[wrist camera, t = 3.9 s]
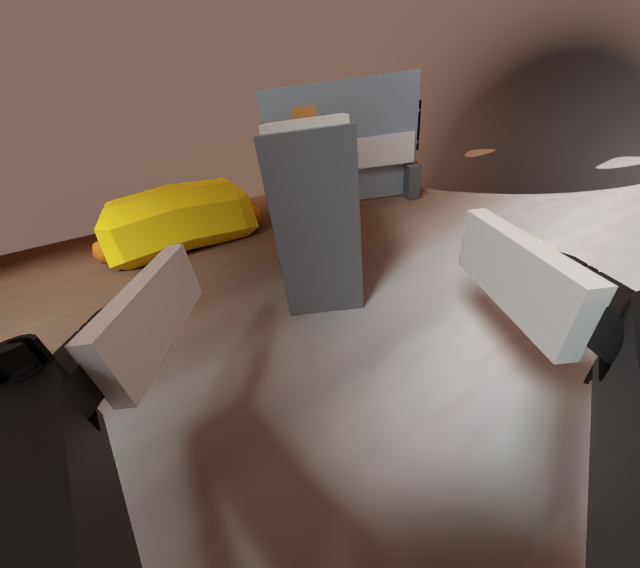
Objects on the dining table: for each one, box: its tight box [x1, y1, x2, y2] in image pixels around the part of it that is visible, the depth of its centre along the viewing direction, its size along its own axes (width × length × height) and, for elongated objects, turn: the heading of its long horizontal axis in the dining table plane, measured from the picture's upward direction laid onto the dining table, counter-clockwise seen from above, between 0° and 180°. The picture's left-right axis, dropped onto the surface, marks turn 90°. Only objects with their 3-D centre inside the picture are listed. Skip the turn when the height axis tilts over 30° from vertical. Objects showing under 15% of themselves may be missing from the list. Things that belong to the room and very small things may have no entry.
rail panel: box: [256, 69, 422, 200], centre depth 36 cm, size 19×4×14 cm, turn 92°
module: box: [254, 104, 364, 315], centre depth 21 cm, size 5×11×12 cm, turn 2°
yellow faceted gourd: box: [92, 178, 261, 270], centre depth 32 cm, size 18×7×8 cm
